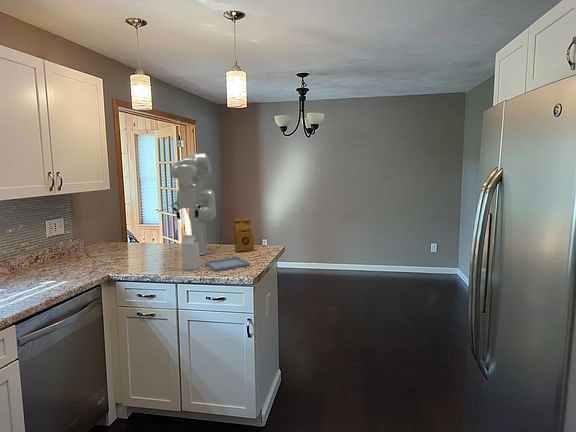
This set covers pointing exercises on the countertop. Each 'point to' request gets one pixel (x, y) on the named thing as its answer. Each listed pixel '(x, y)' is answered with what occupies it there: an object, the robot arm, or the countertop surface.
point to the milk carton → (190, 252)
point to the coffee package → (243, 235)
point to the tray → (226, 263)
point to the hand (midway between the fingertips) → (187, 218)
